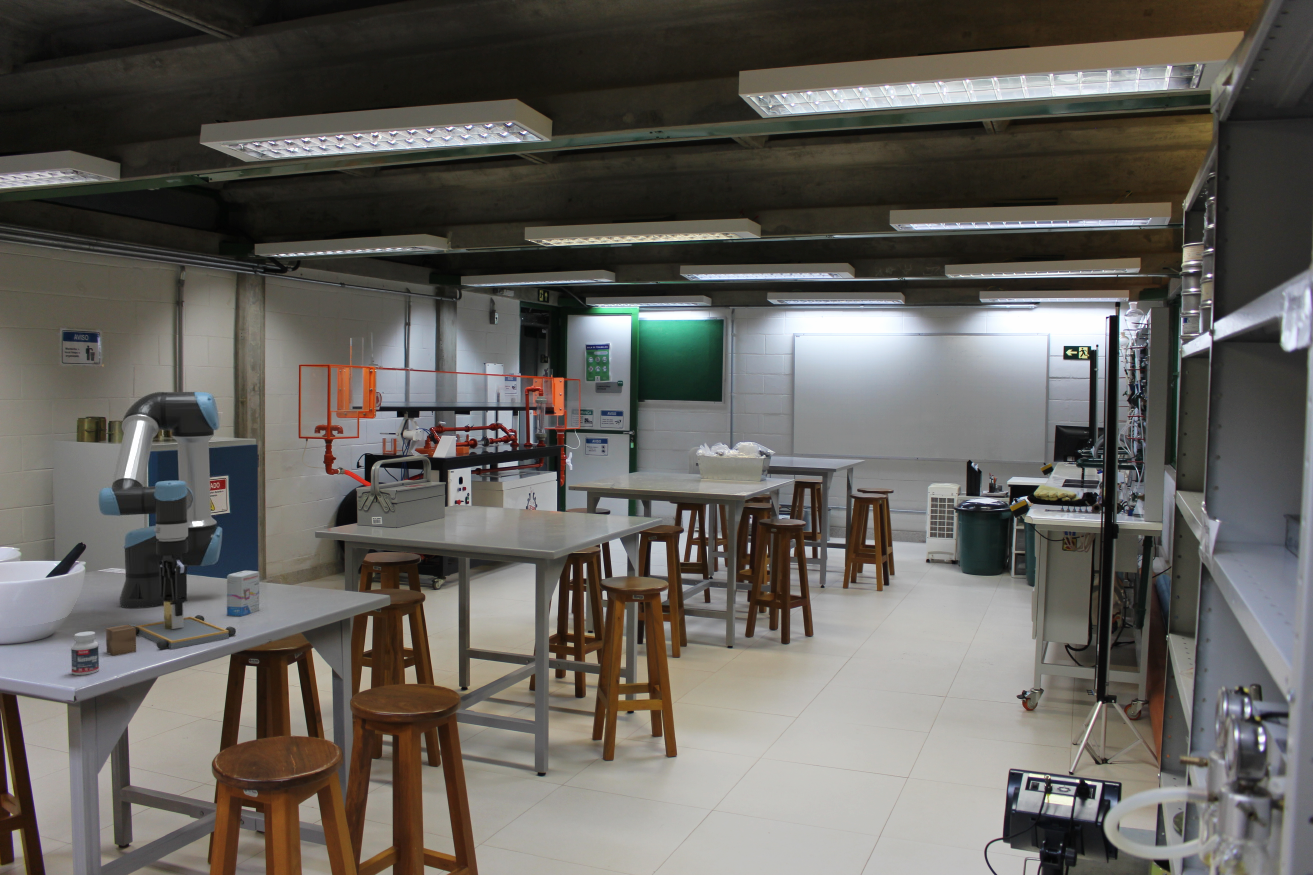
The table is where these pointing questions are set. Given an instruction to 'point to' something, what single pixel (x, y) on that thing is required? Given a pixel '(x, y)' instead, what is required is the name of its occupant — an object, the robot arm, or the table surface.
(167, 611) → the cylinder
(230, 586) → the ink box
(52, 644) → the table surface
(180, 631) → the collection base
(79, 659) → the pill bottle
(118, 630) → the walnut block
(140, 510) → the robot arm
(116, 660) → the table surface
